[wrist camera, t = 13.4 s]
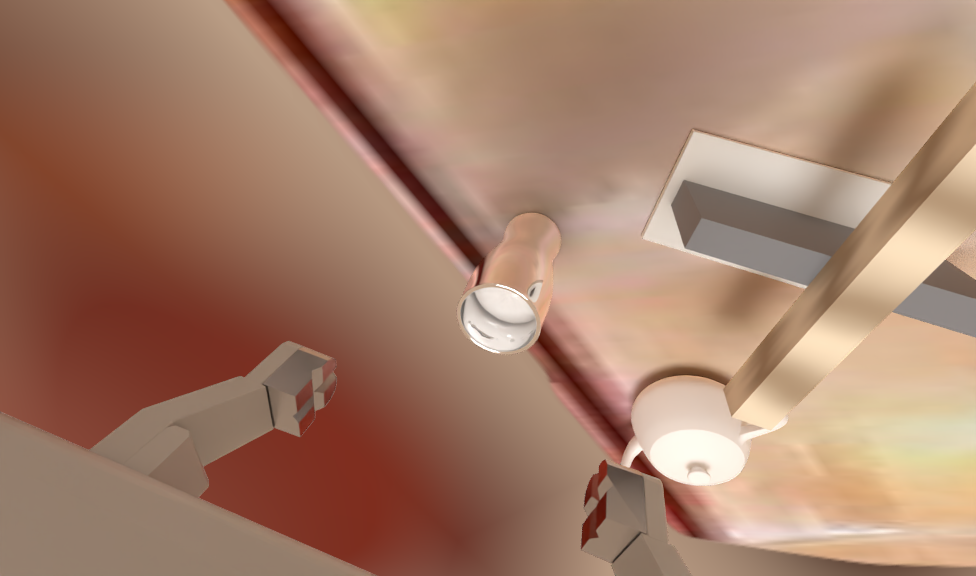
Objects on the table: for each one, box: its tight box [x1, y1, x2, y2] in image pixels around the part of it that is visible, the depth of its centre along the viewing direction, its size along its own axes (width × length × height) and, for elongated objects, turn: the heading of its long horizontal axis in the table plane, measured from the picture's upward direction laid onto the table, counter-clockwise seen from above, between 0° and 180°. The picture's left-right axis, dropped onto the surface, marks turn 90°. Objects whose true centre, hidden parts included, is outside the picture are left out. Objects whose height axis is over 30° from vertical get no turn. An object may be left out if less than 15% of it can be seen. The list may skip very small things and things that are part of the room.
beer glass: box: [456, 212, 561, 355], centre depth 36 cm, size 7×7×15 cm
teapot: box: [620, 375, 788, 486], centre depth 44 cm, size 20×12×10 cm, turn 135°
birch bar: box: [723, 82, 976, 431], centre depth 25 cm, size 24×3×3 cm, turn 168°
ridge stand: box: [642, 129, 976, 337], centre depth 30 cm, size 10×22×10 cm, turn 78°
